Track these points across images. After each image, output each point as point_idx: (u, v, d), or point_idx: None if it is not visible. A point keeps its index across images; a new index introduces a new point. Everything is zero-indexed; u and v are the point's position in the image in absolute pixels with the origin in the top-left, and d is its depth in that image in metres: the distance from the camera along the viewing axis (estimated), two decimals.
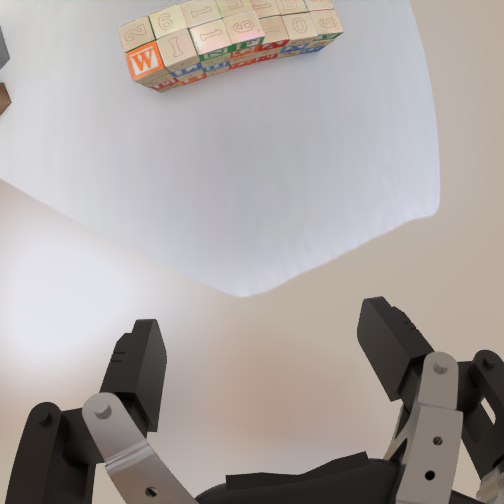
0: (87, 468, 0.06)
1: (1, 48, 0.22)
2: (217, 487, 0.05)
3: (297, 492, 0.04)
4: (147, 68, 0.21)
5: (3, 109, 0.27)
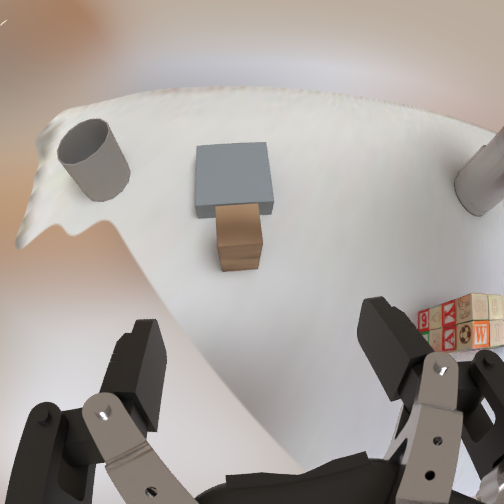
0: (87, 468, 0.06)
1: None
2: (217, 487, 0.05)
3: (297, 492, 0.04)
4: (481, 342, 0.23)
5: (245, 268, 0.37)
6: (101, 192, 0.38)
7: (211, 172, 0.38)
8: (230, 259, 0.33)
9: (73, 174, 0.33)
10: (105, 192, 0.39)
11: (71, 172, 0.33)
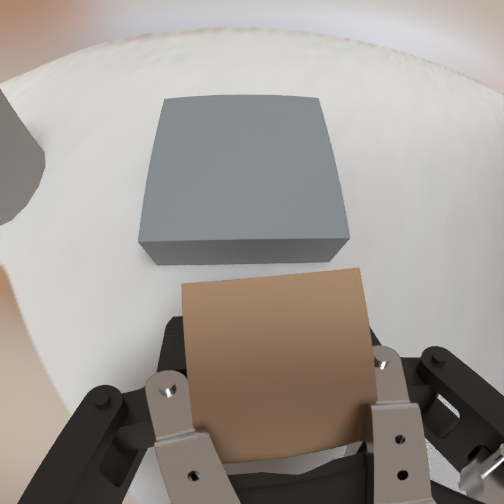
0: (135, 456, 0.06)
1: None
2: None
3: (297, 492, 0.04)
4: None
5: None
6: None
7: (188, 154, 0.15)
8: None
9: None
10: None
11: None
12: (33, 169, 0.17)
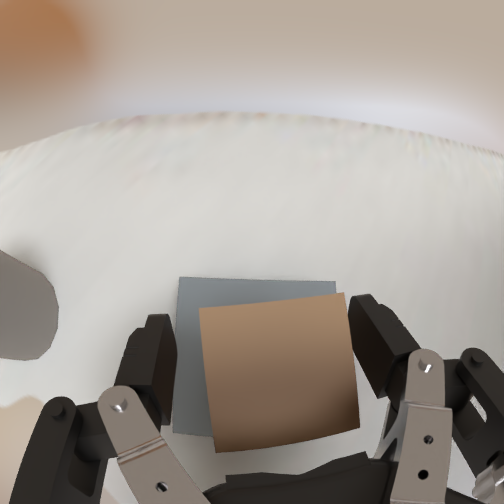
0: (99, 464, 0.06)
1: None
2: (217, 487, 0.05)
3: (297, 492, 0.04)
4: None
5: None
6: (15, 358, 0.16)
7: None
8: None
9: None
10: (21, 356, 0.17)
11: None
12: (49, 318, 0.19)
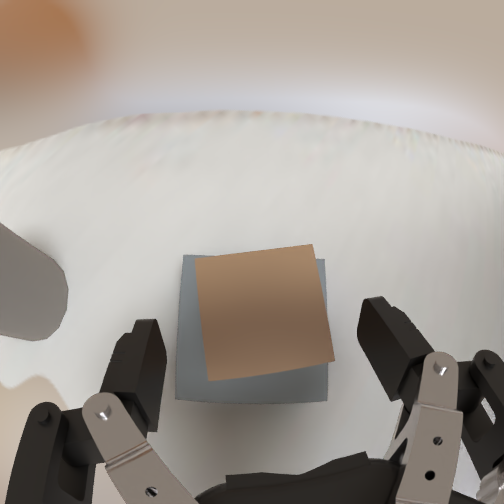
0: (87, 468, 0.06)
1: None
2: (217, 487, 0.05)
3: (297, 492, 0.04)
4: None
5: None
6: (25, 337, 0.18)
7: None
8: None
9: None
10: (31, 335, 0.19)
11: None
12: (59, 298, 0.21)
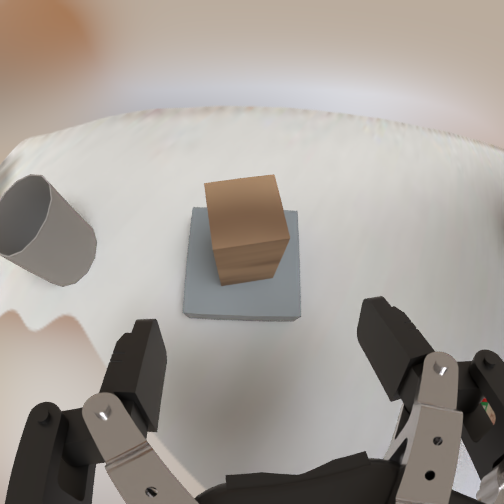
0: (87, 468, 0.06)
1: None
2: (217, 487, 0.05)
3: (297, 492, 0.04)
4: None
5: (254, 279, 0.25)
6: (58, 279, 0.26)
7: (210, 257, 0.26)
8: (233, 268, 0.21)
9: (14, 262, 0.21)
10: (64, 278, 0.26)
11: None
12: (90, 247, 0.28)
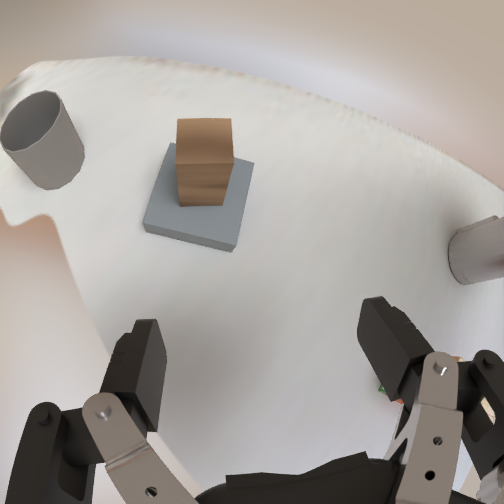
0: (87, 468, 0.06)
1: None
2: (217, 487, 0.05)
3: (297, 492, 0.04)
4: None
5: (207, 203, 0.30)
6: (45, 181, 0.28)
7: (174, 184, 0.30)
8: (190, 187, 0.25)
9: (14, 160, 0.22)
10: (50, 181, 0.28)
11: (12, 157, 0.22)
12: (78, 160, 0.30)
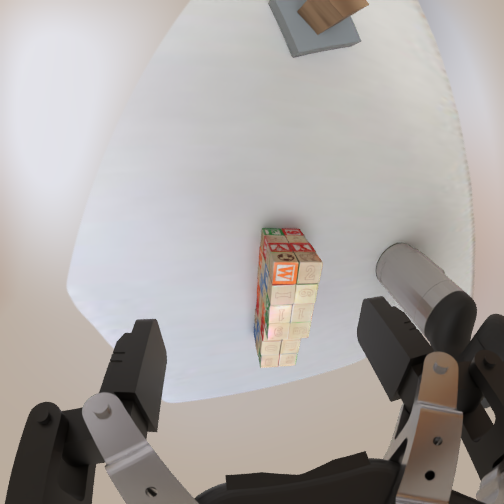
0: (87, 468, 0.06)
1: (310, 52, 0.33)
2: (217, 487, 0.05)
3: (297, 492, 0.04)
4: (278, 273, 0.36)
5: (311, 25, 0.29)
6: None
7: None
8: (312, 6, 0.25)
9: None
10: None
11: None
12: None
